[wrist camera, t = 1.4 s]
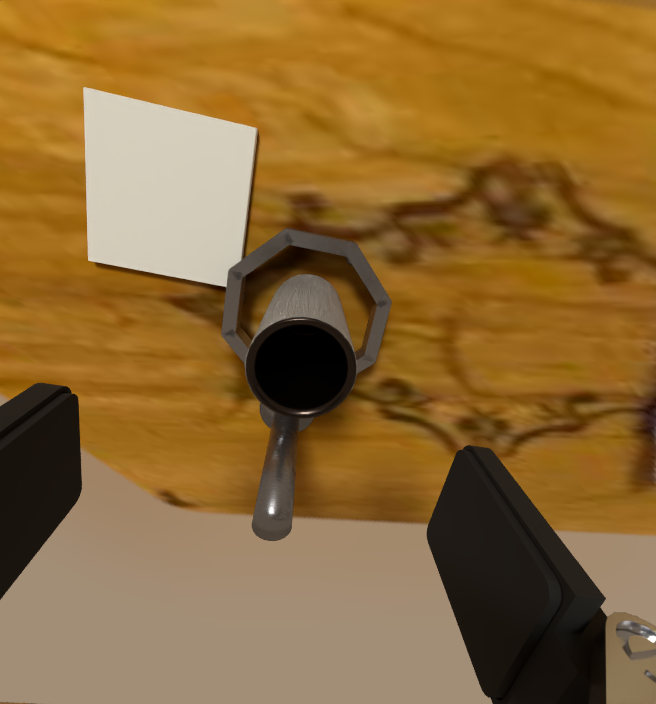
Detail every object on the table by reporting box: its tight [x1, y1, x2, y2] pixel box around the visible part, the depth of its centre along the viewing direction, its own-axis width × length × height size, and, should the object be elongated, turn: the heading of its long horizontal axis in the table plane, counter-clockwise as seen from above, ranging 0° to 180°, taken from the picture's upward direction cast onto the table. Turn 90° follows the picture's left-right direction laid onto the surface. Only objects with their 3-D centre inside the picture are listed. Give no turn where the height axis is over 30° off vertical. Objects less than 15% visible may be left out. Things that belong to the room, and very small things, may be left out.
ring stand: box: [221, 228, 392, 541], centre depth 20 cm, size 10×14×11 cm
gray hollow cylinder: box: [245, 274, 357, 419], centre depth 20 cm, size 4×4×10 cm
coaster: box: [84, 87, 258, 287], centre depth 21 cm, size 9×9×1 cm
